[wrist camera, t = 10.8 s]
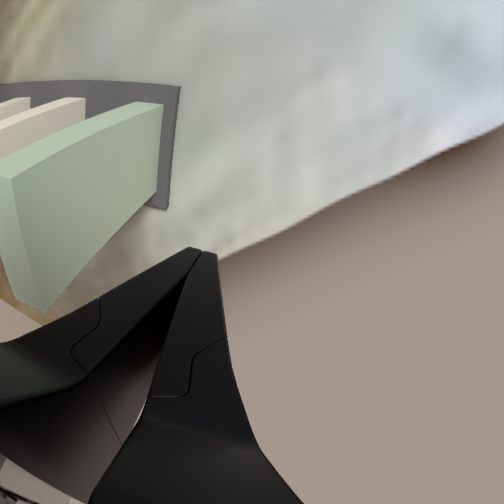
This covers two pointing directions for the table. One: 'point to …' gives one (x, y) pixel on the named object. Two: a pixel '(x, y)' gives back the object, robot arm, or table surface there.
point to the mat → (108, 98)
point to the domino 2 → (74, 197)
